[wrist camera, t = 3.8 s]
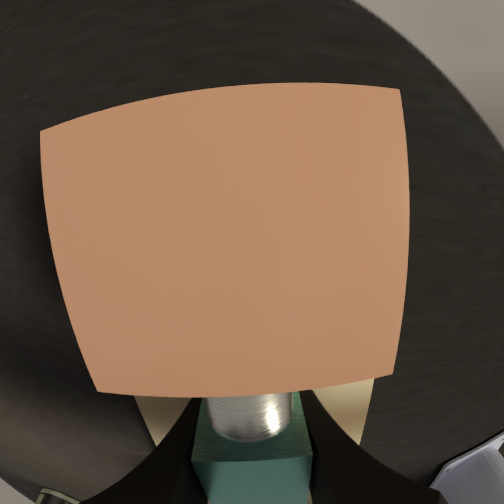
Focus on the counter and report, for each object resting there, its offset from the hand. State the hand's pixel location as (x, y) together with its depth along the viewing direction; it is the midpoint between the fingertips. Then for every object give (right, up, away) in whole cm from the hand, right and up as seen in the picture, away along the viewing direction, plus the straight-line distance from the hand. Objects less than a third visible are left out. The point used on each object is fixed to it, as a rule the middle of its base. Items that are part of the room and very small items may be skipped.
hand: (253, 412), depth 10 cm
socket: (-1, +7, 0) cm, 7 cm away
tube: (0, -2, +1) cm, 2 cm away
